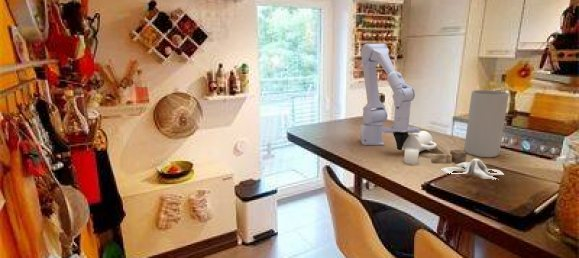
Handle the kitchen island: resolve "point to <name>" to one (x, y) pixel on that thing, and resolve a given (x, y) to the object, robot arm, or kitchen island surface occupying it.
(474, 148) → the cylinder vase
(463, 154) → the walnut block
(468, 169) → the cloth
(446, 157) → the dock
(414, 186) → the kitchen island surface
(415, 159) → the small white cylinder
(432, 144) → the mug
